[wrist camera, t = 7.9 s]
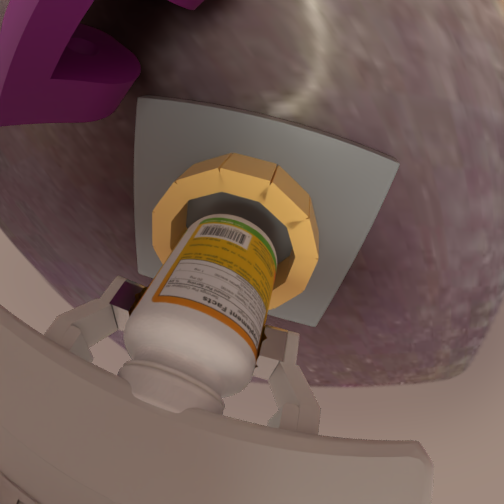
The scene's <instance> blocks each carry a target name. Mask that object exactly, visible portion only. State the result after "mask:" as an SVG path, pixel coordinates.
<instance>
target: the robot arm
mask: <svg viewBox="0 0 504 504" xmlns="http://www.w3.org/2000/svg"><path fill="white" fill-rule="evenodd" d="M146 290H147V287H146V286H143V285H141V284H138V283H136V282H133V281H131V280H128V279H126V278H123V277H120V276H117V277H116V278H115V279H114V280H113V282H112V283H111V284H110V286H109V287H108V288H107V290H106V291H105V292H104V294H103V295H102V296H101V298H100V299H97V298H96V299H94V300H92V301H90V302H87V303H85V304H83V305H81V306H78V307H76V308H74V309H72V310H70V311H68V312H65V313H63V314H61V315H59V316H57V317H56V319H55V320H54V321H53V323H52V324H51V326H50V327H49V328H48V330H47V331H46V332H45V334H44V335H42V334H41V333H39V332H38V331H36V330H35V329H33V328H32V327H30V326H29V325H27V324H26V323H25V322H23V321H22V320H20V319H19V318H17V317H16V316H15V315H13V314H12V313H11V312H9V311H8V310H7V309H5V308H4V307H3V306H1V305H0V504H431V501H432V493H433V483H434V465H433V462H432V460H431V458H430V457H429V455H428V453H427V452H426V450H425V449H424V447H423V446H422V445H421V444H420V442H418V441H413V440H406V441H389V440H388V441H387V440H364V439H363V440H362V439H350V438H339V437H330V436H322V435H318V432H319V423H320V412H321V408H320V406H319V404H318V402H317V400H316V398H315V396H314V394H313V392H312V390H311V388H310V386H309V384H308V382H307V380H306V379H305V377H304V375H303V373H302V371H301V369H300V367H299V366H297V365H296V361H297V353H298V344H299V333H295V332H291V331H287V330H285V329H281V328H277V327H273V326H269V325H265V327H264V330H263V334H262V339H261V344H260V348H259V352H258V357H257V361H256V366H255V369H254V373H253V376H255V377H259V378H262V379H266V380H268V382H269V385H270V388H271V391H272V393H273V396H274V399H275V402H276V404H277V407H278V411H277V412H276V413H275V414H274V415H273V417H272V418H271V419H270V420H269V421H268V423H267V426H264V425H259V424H255V423H251V422H247V421H242V420H239V419H234V418H231V417H228V416H224V415H220V414H217V413H214V412H210V411H207V410H204V409H200V408H187V409H185V410H183V411H182V412H180V413H174V412H171V411H167V410H164V409H162V408H159V407H156V406H154V405H151V404H149V403H146V402H144V401H142V400H140V399H138V398H136V397H135V396H134V395H133V394H132V388H131V385H130V383H129V382H128V381H127V380H125V379H123V378H121V377H119V376H117V375H114V374H112V373H110V372H108V371H106V370H104V369H102V368H100V367H98V366H96V365H94V364H92V361H93V355H92V353H91V351H90V349H89V348H90V347H91V346H93V345H95V344H96V343H98V342H99V341H101V340H102V339H104V338H106V337H107V336H109V335H111V334H112V333H114V332H115V331H117V330H118V329H119V330H122V331H124V329H125V325H126V323H127V321H128V319H129V317H130V315H131V313H132V312H133V310H134V308H135V307H136V305H137V303H138V302H139V300H140V299H141V297H142V296H143V294H144V293H145V291H146Z"/></svg>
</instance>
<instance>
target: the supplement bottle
mask: <svg viewBox="0 0 504 504" xmlns="http://www.w3.org/2000/svg"><path fill="white" fill-rule="evenodd" d="M276 270H277V256H276V251H275V248H274V246H273V244H272V242H271V240H270V239H269V237H268V236H267V235H266V234H265V233H264V232H263V231H262V230H261V229H260V228H259V227H258V226H256V225H255V224H253V223H251V222H250V221H248V220H246V219H243V218H241V217H238V216H234V215H229V214H213V215H209V216H205V217H203V218H201V219H199V220H197V221H196V222H194V223H193V224H192V225H191V226H190V227H189V228H188V229H187V231H186V232H185V233H184V235H183V236H182V237H181V239H180V240H179V242H178V243H177V245H176V246H175V248H174V249H173V251H172V252H171V253H170V255H169V256H168V258H167V259H166V261H165V262H164V264H163V265H162V267H161V268H160V270H159V271H158V273H157V274H156V276H155V277H154V279H153V280H152V282H151V283H150V285H149V286H148V288H147V290H146V291H145V293H144V294H143V296H142V297H141V299H140V300H139V302H138V303H137V305H136V307H135V308H134V310H133V312H132V313H131V315H130V317H129V319H128V321H127V323H126V325H125V329H124V343H125V347H126V350H127V352H128V354H129V356H130V357H131V359H132V360H130V361H127V362H126V363H125V364H124V365H123V367H122V368H120V370H119V372H118V375H117V376H119V377H121V378H123V379H125V380H127V381H128V382H129V383H130V385H131V388H132V394H133V395H134V396H135V397H136V398H138V399H140V400H142V401H144V402H146V403H149V404H151V405H154V406H156V407H159V408H162V409H164V410H167V411H171V412H174V413H180V412H182V411H183V410H185V409H187V408H200V409H204V410H207V411H210V412H214V413H217V414H220V415H223V410H224V407H225V404H224V401H223V399H222V398H225V397H230V396H233V395H235V394H237V393H239V392H241V391H242V390H243V389H245V387H246V386H247V385H248V384H249V383H250V381H251V379H252V376H253V373H254V369H255V366H256V361H257V357H258V352H259V348H260V344H261V339H262V334H263V330H264V326H265V322H266V318H267V313H268V309H269V304H270V299H271V295H272V290H273V286H274V281H275V276H276Z"/></svg>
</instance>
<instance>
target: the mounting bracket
mask: <svg viewBox="0 0 504 504" xmlns="http://www.w3.org/2000/svg"><path fill="white" fill-rule="evenodd" d="M93 1H94V0H10V2H9V5H8V7H7V10H6V13H5V15H4V19H3V23H2V27H1V32H0V126H9V125H21V124H37V123H79V122H91V121H96V120H100V119H103V118H105V117H107V116H109V115H111V114H112V113H113V112H114V111H115V110H116V109H117V107H118V106H119V104H120V103H121V101H122V99H123V98H124V96H125V95H126V93H127V92H128V90H129V89H130V88H131V86H132V85H133V83H134V82H135V80H136V79H137V78H138V76H139V75H140V72H141V66H140V63H139V61H138V59H137V58H136V56H135V55H134V54H133V53H132V52H131V51H129V50H128V49H127V48H126V47H124V46H123V45H122V44H121V43H119V42H118V41H117V40H116V39H114V38H113V37H112V36H110V35H109V34H107V33H105V32H103V31H101V30H98V29H96V28H93V27H90V26H87V25H84V24H80V21H81V20H82V18H83V16H84V15H85V13H86V12H87V10H88V9H89V7H90V6H91V4H92V3H93ZM168 1H170V2H172V3H174V4H177V5H179V6H181V7H184V8H186V9H189V10H195V9H196V8H197V7H198V6H199V5H200V4H201V3H202V2H203V1H204V0H168Z"/></svg>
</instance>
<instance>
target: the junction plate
mask: <svg viewBox="0 0 504 504" xmlns="http://www.w3.org/2000/svg"><path fill="white" fill-rule="evenodd" d="M399 165H400V163H399V162H398V161H397V160H396V159H395V158H393V157H391V156H389V155H386V154H384V153H382V152H379V151H377V150H374V149H372V148H369V147H366V146H364V145H361V144H359V143H356V142H353V141H350V140H348V139H345V138H342V137H339V136H336V135H333V134H330V133H327V132H324V131H321V130H318V129H315V128H311V127H308V126H305V125H301V124H298V123H294V122H291V121H287V120H284V119H280V118H276V117H272V116H268V115H264V114H260V113H256V112H251V111H247V110H242V109H237V108H232V107H227V106H222V105H217V104H211V103H205V102H199V101H193V100H186V99H178V98H170V97H161V96H152V95H145V96H141V97H138V99H137V110H136V124H135V144H134V218H135V238H136V252H137V265H138V273H139V274H141V275H144V276H147V277H150V278H153V279H154V277H155V276H156V274H157V273H158V271H159V270H160V268H161V267H162V265H163V264H164V262H165V261H166V259H167V258H168V256H169V255H170V253H171V252H172V251H173V249H174V248H175V246H176V245H177V243H178V242H179V240H180V239H181V237H182V236H183V235H184V233H185V232H186V231H187V229H188V228H189V227H190V226H191V225H192V224H193V223H194V222H196V221H197V220H199V219H201V218H203V217H205V216H209V215H213V214H229V215H234V216H238V217H241V218H243V219H246V220H248V221H250V222H251V223H253V224H255V225H256V226H258V227H259V228H260V229H261V230H262V231H263V232H264V233H265V234H266V235H267V236H268V237H269V239H270V240H271V242H272V244H273V246H274V248H275V251H276V256H277V270H276V276H275V281H274V286H273V290H272V295H271V299H270V304H269V309H268V313H267V314H268V315H271V316H275V317H278V318H282V319H286V320H290V321H293V322H297V323H301V324H305V325H309V326H313V327H316V325H317V323H318V322H319V320H320V319H321V317H322V315H323V314H324V312H325V310H326V309H327V307H328V305H329V304H330V302H331V300H332V298H333V297H334V295H335V293H336V292H337V290H338V288H339V286H340V285H341V283H342V281H343V279H344V277H345V276H346V274H347V272H348V270H349V268H350V267H351V265H352V263H353V261H354V259H355V257H356V255H357V253H358V252H359V250H360V248H361V246H362V244H363V242H364V240H365V238H366V236H367V234H368V232H369V230H370V228H371V226H372V224H373V222H374V220H375V218H376V216H377V214H378V212H379V210H380V207H381V205H382V203H383V201H384V199H385V197H386V195H387V192H388V190H389V188H390V186H391V183H392V181H393V179H394V177H395V174H396V172H397V170H398V167H399Z"/></svg>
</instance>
